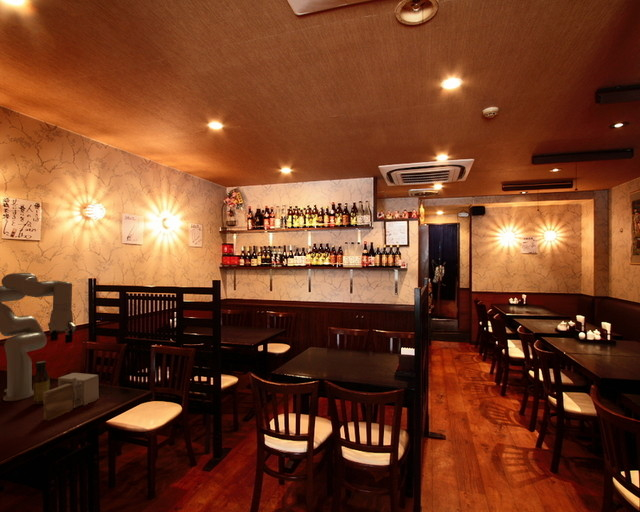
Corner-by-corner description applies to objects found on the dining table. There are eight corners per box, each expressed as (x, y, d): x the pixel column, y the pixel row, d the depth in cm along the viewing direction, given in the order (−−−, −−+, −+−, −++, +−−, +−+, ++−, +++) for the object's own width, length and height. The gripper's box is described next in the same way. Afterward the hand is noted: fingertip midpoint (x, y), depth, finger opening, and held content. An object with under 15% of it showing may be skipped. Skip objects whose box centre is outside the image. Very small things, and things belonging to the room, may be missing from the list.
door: (42, 419, 153) (42, 392, 153) (75, 405, 168) (75, 380, 168) (50, 420, 152) (49, 393, 152) (82, 406, 167) (82, 381, 167)
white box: (50, 405, 168) (50, 376, 168) (73, 396, 179) (73, 368, 180) (76, 408, 164) (76, 378, 164) (98, 399, 175) (98, 371, 175)
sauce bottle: (52, 401, 173) (52, 360, 174) (38, 406, 168) (38, 364, 168) (45, 399, 176) (44, 359, 176) (30, 403, 170) (30, 362, 171)
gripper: (41, 306, 172) (40, 341, 172) (67, 309, 167) (67, 345, 167) (57, 304, 179) (56, 338, 179) (82, 307, 174) (81, 341, 174)
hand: (61, 341), depth 173 cm, fingers open, 9 cm apart
